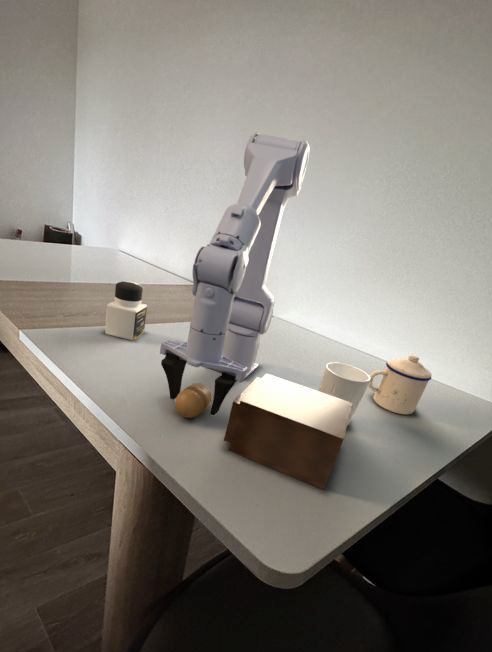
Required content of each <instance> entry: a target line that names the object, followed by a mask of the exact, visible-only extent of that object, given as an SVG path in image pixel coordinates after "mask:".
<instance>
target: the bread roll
mask: <svg viewBox="0 0 492 652" xmlns="http://www.w3.org/2000/svg"><path fill="white" fill-rule="evenodd" d="M212 398H213V396H212V391H211V389H210V387H208V386H207V384H204V383H202V382H194V383H190V384H189V385H188V386H187V387H185V388H184V389H182V390H180V393H179V394H178V395H177V397H176V398H175V399H174V400H175V401H174V404H175V405H174V406H175V410H176V412H177V413H178V414H179V415H180V416H181V417H184V418H187V419H192V418H196V417H197V416H198V417H199V415H201V414H202V413H203V412H204V411H205V410H206V409H208V407H209V406H210V404H211V402H212V400H213V399H212Z"/></svg>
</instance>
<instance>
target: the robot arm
mask: <svg viewBox="0 0 492 652" xmlns="http://www.w3.org/2000/svg"><path fill="white" fill-rule="evenodd" d="M310 149H311V148H310V145H309V143H308V140H297V139H291V138H285V137H280V136H274V135H267V134H262V133H259V132H257V131H255V132H253V133H252V135H250V136H249V138H248V140H247V142H246V145H245V150H244V155H243V168H244V174H245V175H244V176H245V180H244V182H243V186H242V189H241V191H240V194H239V197H238V199H237V202H236V203H235V204H230V205H229V206H228V207H227V208H226V209H225V211H224V212H223V215H222V217H221V219H220V221H219V223H218V225H217V228H216V229H215V232H214V234H213V236H212V237H211V240H210V241H209V243H208V244H206V245H205V246H201V247H200V248H199V249H198V251H197V253H196V255H195V258H194V262H193V264H192V280H193V281H192V283H193V284H192V290H191V292H192V295H193V296H194V299H193V307H192V311H191V312H192V313H191V317H190V323H189V330H188V337H187V341H186V343H180V342H177V341H172V340H169V339H166V340H163V341H162V342H160V349H159V354H160V355H163V356H164V358H163V359H161V362H160V363H161V364H160V366H161V367H162V369H163V371H164V374H165V377H166V380H167V384H168V385H167V386H168V394H169V399H170V400H173V401H174V400H176V397H177V395H178V394H179V393H180V392H181V389H182V381H183V377H184V372H185V369H186V366H187V365H188V366H191V367H194V368H200V367H202V368H205V369H207V370H210V371H213V372H216V373H217V374H218V373H219V374H221V375H219V376H218V377H216V378H215V380H214V390H213V393H214V394H213V399H212V403H211V407H210V410H209V411H210V412H209V415H211V416H216V415H217V414H218V413H219V412H220V409H221V406H222V404H223V402H224V400H225V399H226V397H227V396H228V394H229V392H230V391H231V390H232V388H233V387H234V386H235V384H236V383H237V382H239V383H242V382H243V381H244V380H245V379H247V378H248V377H249V376H250V375H251V374H252V373H253V372H254V371H255V370H256V369H257V368H258V367H259V366H260V365H259V363H257V362H256V361H257V356H258V353H259V348H260V346H261V345H260V344H261V335H264V334H266V333H267V331H268V330H269V328H270V324H271V322H272V319H273V314H274V305H275V297H274V296H273V294H272V293H271V292H270V290H269V289H268V288H267V286H266V283H267V278H268V275H269V270H270V266H271V261H272V259H273V258H272V257H273V254H274V249H275V246H276V243H277V237H278V234H279V230H280V225H281V221H282V217H283V213H284V209H285V207H286V205H287V203H288V201H289V199H291V198H292V199H293V198H295V197H298V196H299V193H300V191H301V189H302V186H303V182H304V178H305V175H306V170H307V166H308V163H309V157H310Z"/></svg>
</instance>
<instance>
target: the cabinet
mask: <svg viewBox="0 0 492 652" xmlns="http://www.w3.org/2000/svg"><path fill="white" fill-rule="evenodd" d="M260 378H261V379H260V380H259V381H258V383H257V384H256V385H255V386H254V387H253V388H252V389H251V390H250V391H249V392H248V393H247V394H246V395H245V396H244V397H243V399H242V400H241V401H240V405H239V409H238V413H237V417H236V421H235V425H234V429H233V433H232V437H231V441H230V443H229V445H228V449H227V450H228V452H232V453H234V454H237V455H238V456H241V457H243V458H246V459H248V460H251V461H253V462H255V463H258V464H260V465H263V466H264V467H267V468H270V469H272V470H274V471H276V472H280V473H282V474H284V475H286V476H289V477H291V478H293V479H296V480H299V481H301V482H303V483H306V484H307V485H310V486H313V487H315V488H318V489H320V490H322V491H324V490H325V487H326V484H327V482H328V480H329V478H330V475H331V472H332V470H333V468H334V465H335V462H336V460H337V458H338V455H339V453H340V450H341V448H342V445H343V442H344V440H345V436H346V432H347V429H348V426H349V424H348V421H349V417H350V413H351V410H352V406H353V403H351V402H348V401H345V400H342V399H340V398H337V397H334V396H331V395H328V394H325V393H322V392H319V390H316V389H314V388H310V387H307V386H305V385H302V384H299V383H295V382H293V381H290V380H287V379H284V378H281V377H278V376H276V375H273V374H270V373H267V372H266V373H265V374H264V375H263V376H262V377H260ZM347 425H348V426H347Z"/></svg>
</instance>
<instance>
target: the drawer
mask: <svg viewBox="0 0 492 652" xmlns="http://www.w3.org/2000/svg"><path fill="white" fill-rule="evenodd" d="M261 378H262V377H259V376H256V377H255V378H254V380H252V381H251V382H250V384H249V385H248V386H246V388H245V389H244V390H243V391H242V392H241V393H239V395H238V396H237V397H236V398H234V400H233V401H232V403H231V408H230V412H229V416H228V421H227V425H226V429H225V433H224V437H223V441H224V442H227V443H228V444H230V441H231V437H232V433H233V429H234V425H235V421H236V417H237V413H238V409H239V405H240V401H241V400H242V399H243V397H244V396H245V395H246V394H247V393H248V392H249V391H250V390H251V389H252V388H253V387H254V386H255V385H256V384H257V383H258V381H259V380H260V379H261Z"/></svg>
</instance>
